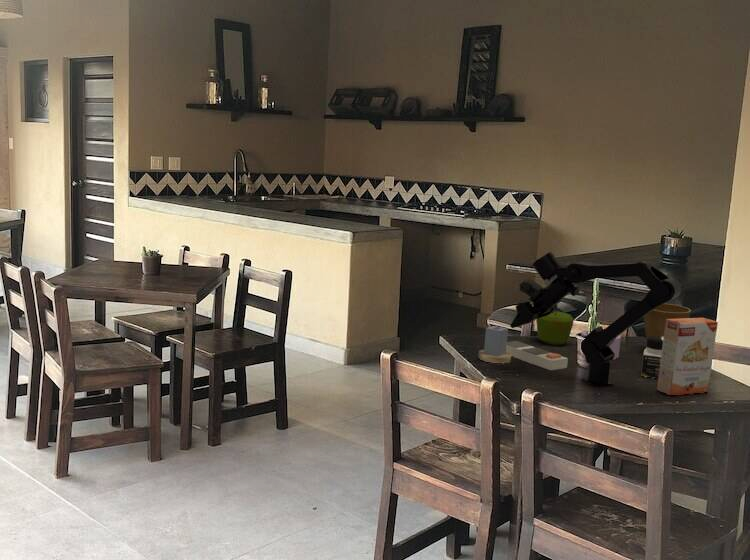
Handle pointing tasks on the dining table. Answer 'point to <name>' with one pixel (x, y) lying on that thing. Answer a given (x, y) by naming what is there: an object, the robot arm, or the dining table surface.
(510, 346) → the power strip
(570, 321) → the apple
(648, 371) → the medicine bottle
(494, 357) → the trivet
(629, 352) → the dining table surface
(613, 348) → the clip
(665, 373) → the cracker box
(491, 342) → the grey cylinder
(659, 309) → the plant pot
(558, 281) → the robot arm
